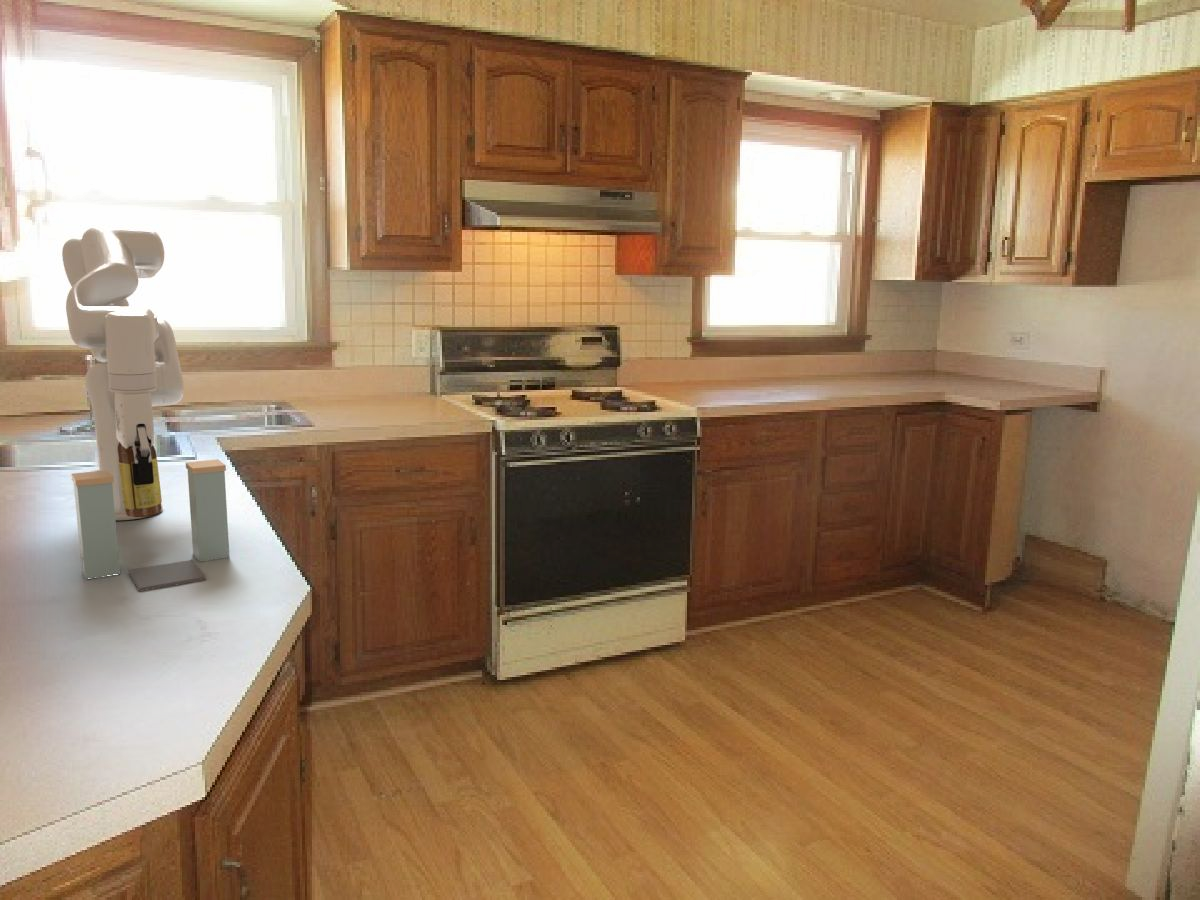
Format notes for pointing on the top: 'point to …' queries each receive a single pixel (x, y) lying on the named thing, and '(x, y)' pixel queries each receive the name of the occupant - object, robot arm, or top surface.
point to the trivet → (166, 575)
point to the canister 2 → (208, 509)
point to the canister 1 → (96, 523)
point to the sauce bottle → (139, 486)
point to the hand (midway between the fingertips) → (140, 478)
